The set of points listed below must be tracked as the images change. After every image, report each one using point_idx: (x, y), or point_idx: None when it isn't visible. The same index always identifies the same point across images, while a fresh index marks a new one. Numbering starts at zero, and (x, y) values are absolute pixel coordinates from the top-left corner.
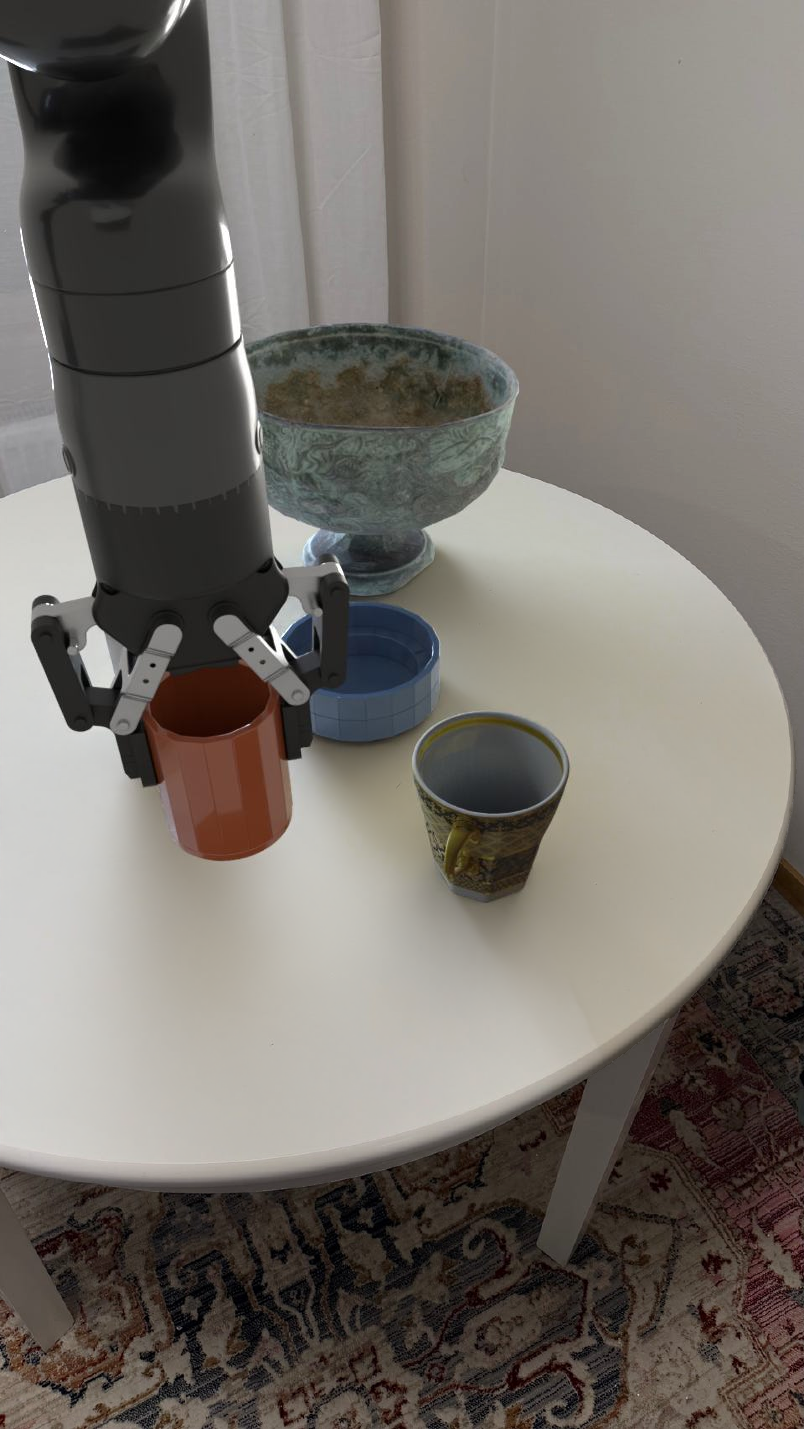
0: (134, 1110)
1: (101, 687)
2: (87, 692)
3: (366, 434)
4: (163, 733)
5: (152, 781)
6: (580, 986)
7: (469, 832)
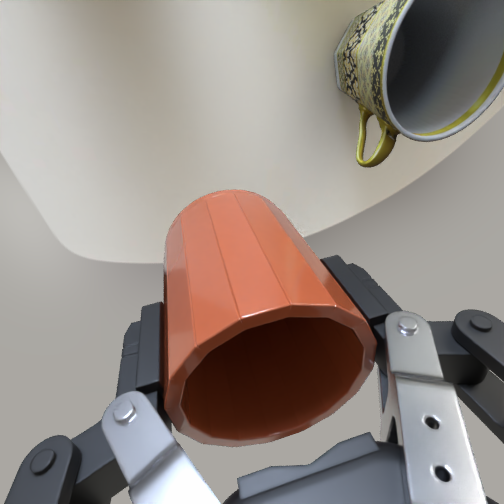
0: (135, 239)
1: (97, 470)
2: (79, 496)
3: None
4: (215, 442)
5: None
6: (381, 170)
7: (394, 143)
